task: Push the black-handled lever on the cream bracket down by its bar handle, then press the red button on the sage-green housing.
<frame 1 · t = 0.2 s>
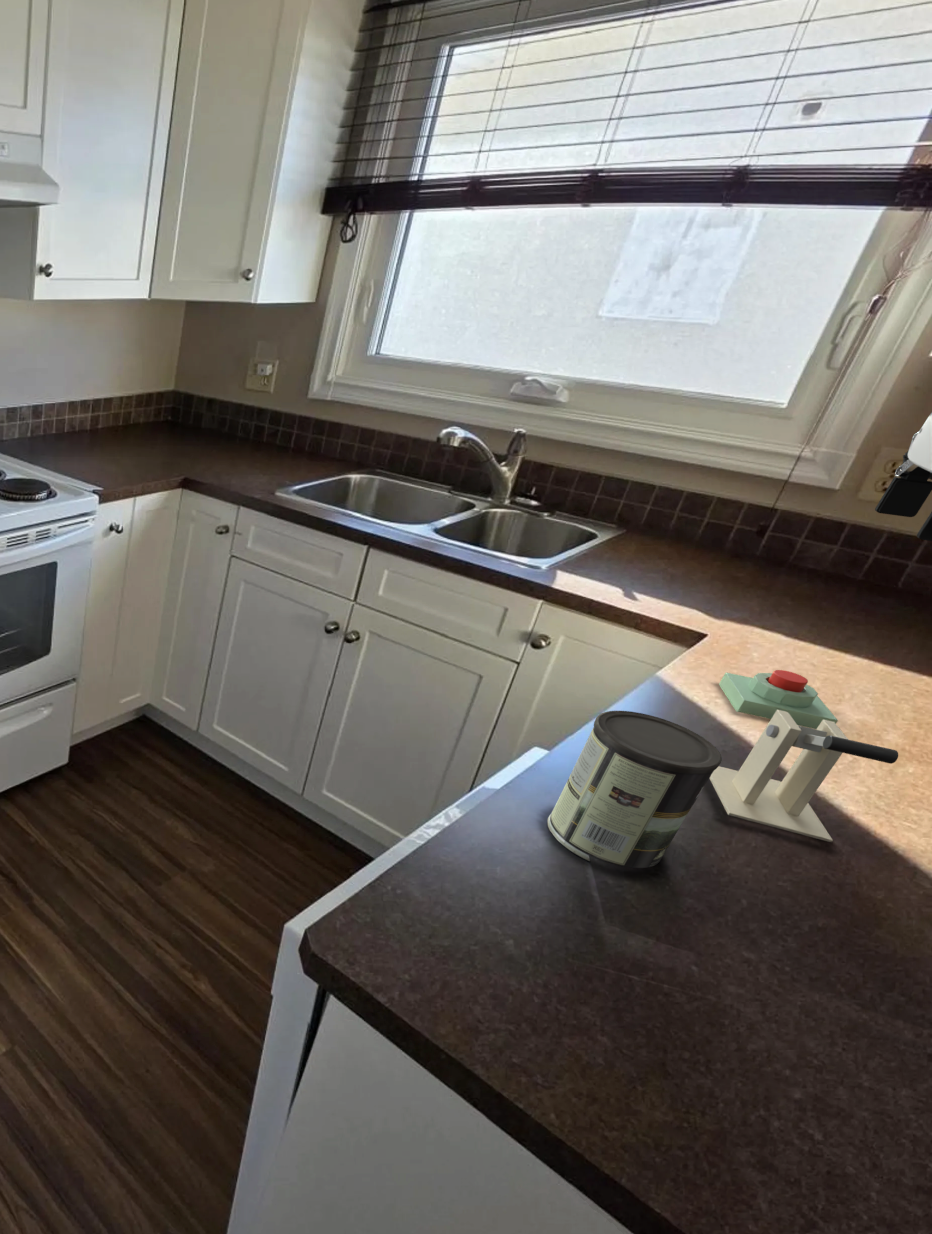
hand: (914, 527, 83), 33 cm above the worktop, tool pointing down, fingers open, 9 cm apart
lever: (828, 743, 83), point 12 cm above the worktop, hinge at 25.0°
bracket: (758, 806, 92), on the worktop
button: (787, 681, 110), point 4 cm above the worktop, slide at 0.1 cm
coffee can: (599, 841, 86), on the worktop
button box: (771, 707, 112), on the worktop
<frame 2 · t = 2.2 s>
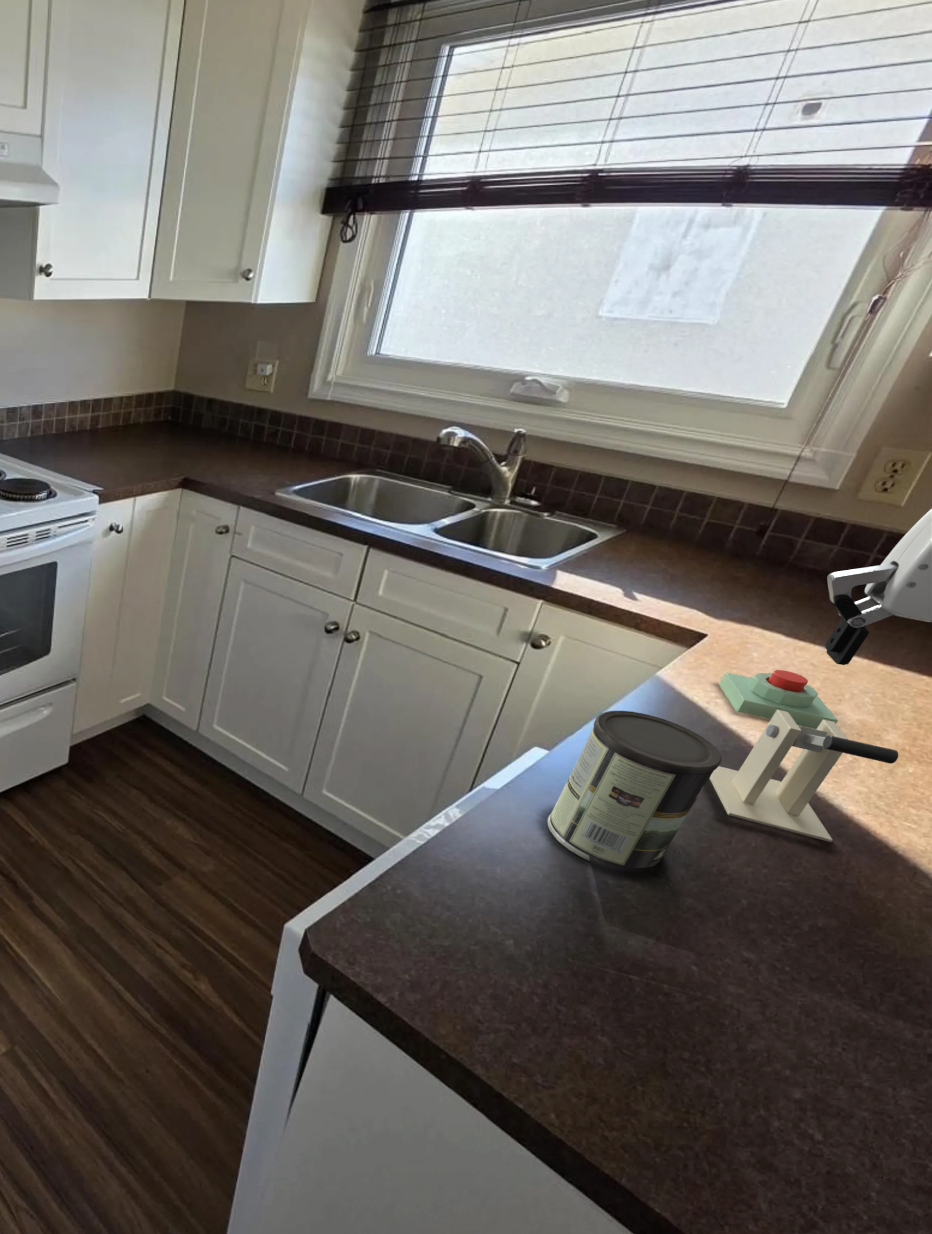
hand: (901, 672, 76), 23 cm above the worktop, tool pointing down, fingers open, 9 cm apart
nothing on the worktop moved.
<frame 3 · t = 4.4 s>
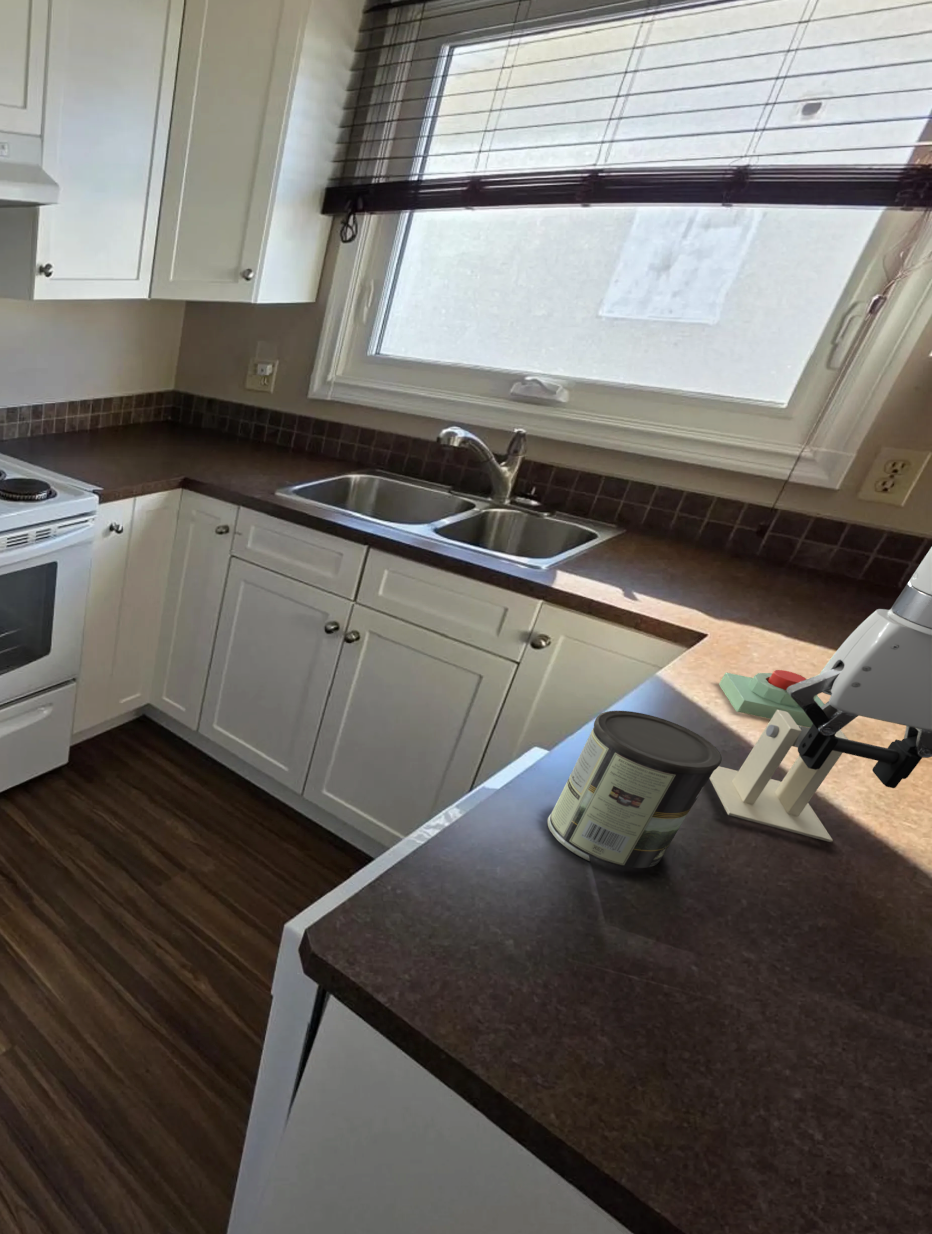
hand: (845, 769, 80), 12 cm above the worktop, tool pointing down, fingers closed on lever, 5 cm apart
lever: (828, 743, 83), point 12 cm above the worktop, hinge at 25.0°, touching gripper
everything else where it was.
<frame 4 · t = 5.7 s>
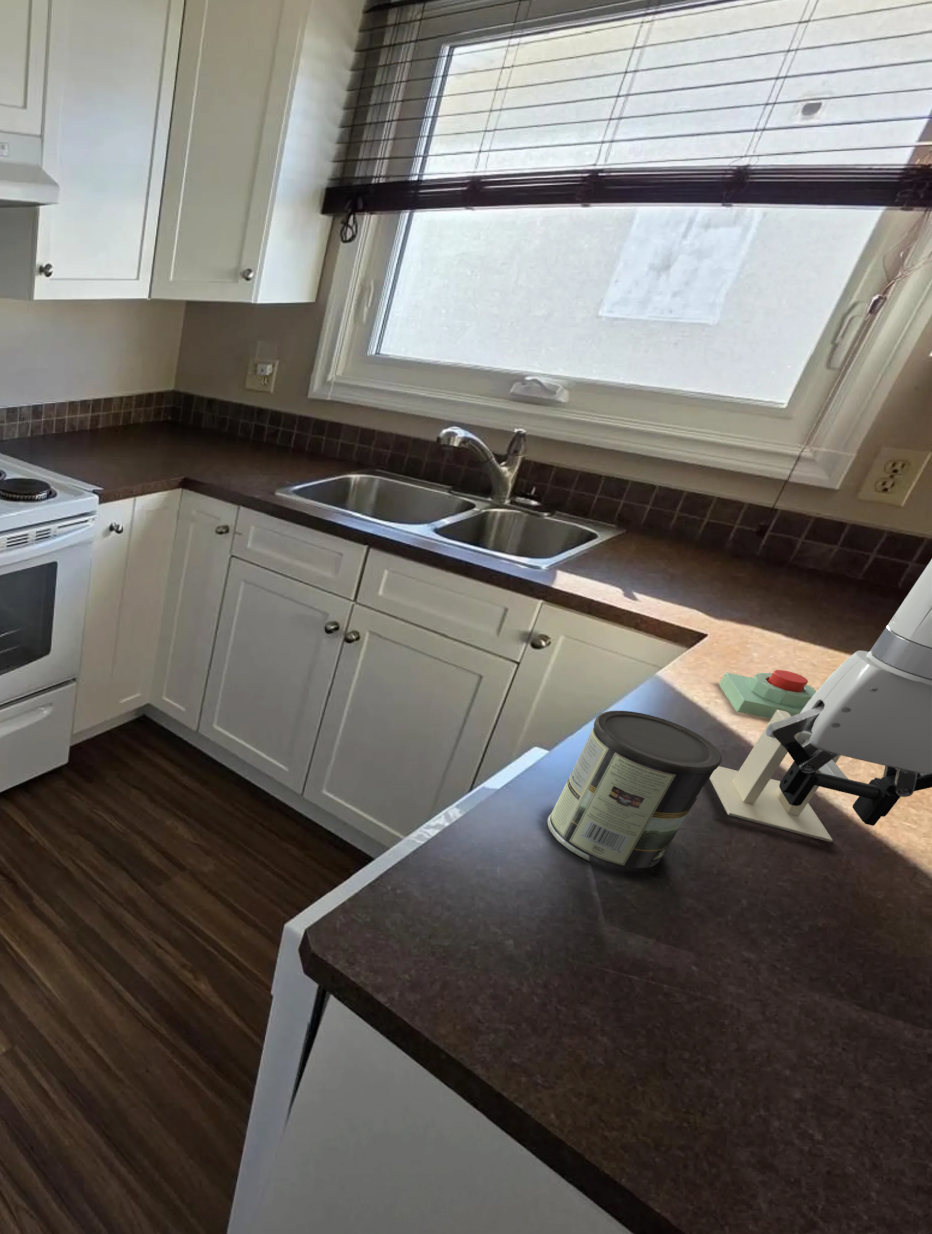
hand: (825, 806, 81), 7 cm above the worktop, tool pointing down, fingers closed on lever, 5 cm apart
lever: (820, 758, 84), point 10 cm above the worktop, hinge at 1.8°, touching gripper
everything else where it was.
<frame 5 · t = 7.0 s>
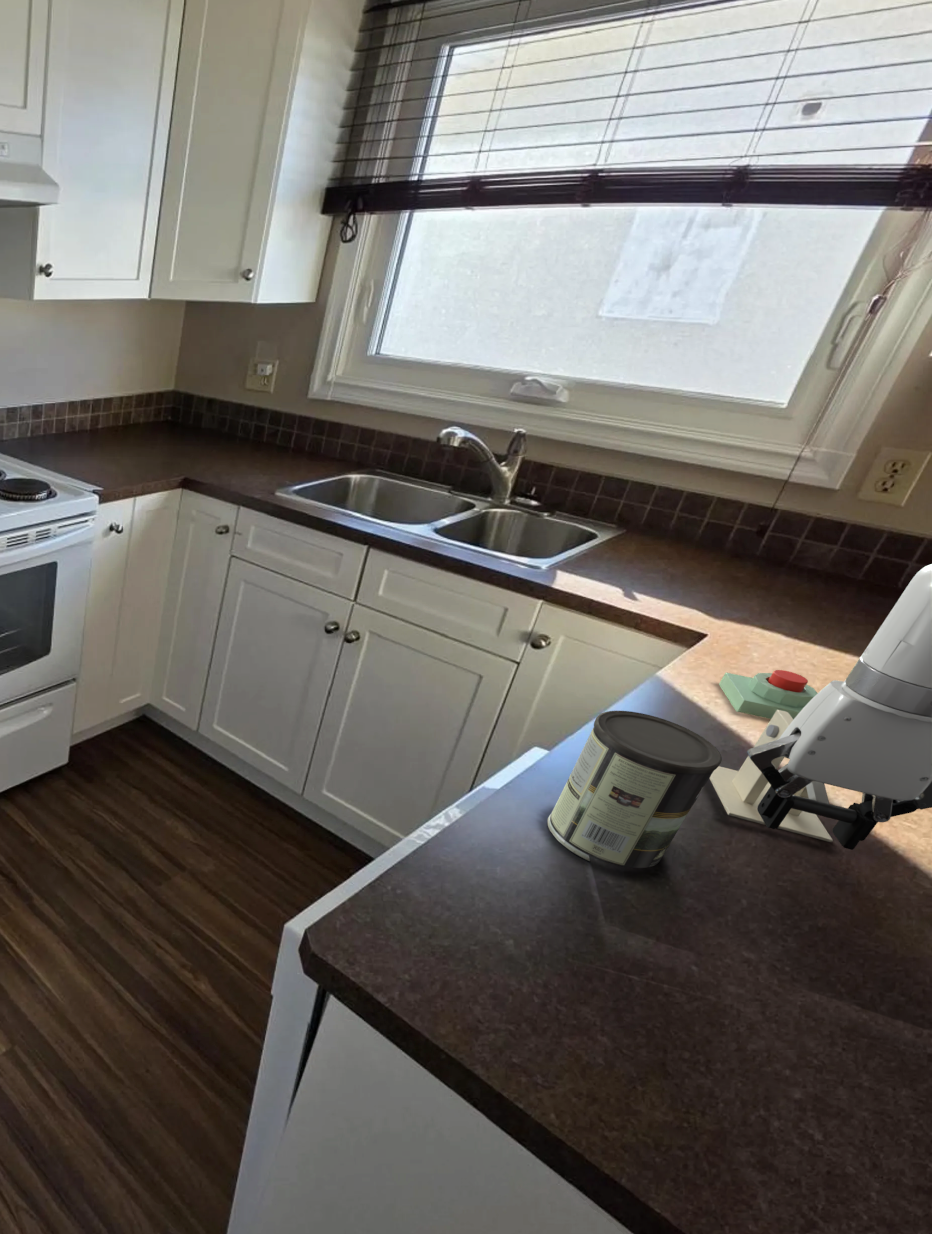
hand: (804, 829, 83), 4 cm above the worktop, tool pointing down, fingers open, 5 cm apart
lever: (811, 769, 85), point 8 cm above the worktop, hinge at -19.2°
everything else where it was.
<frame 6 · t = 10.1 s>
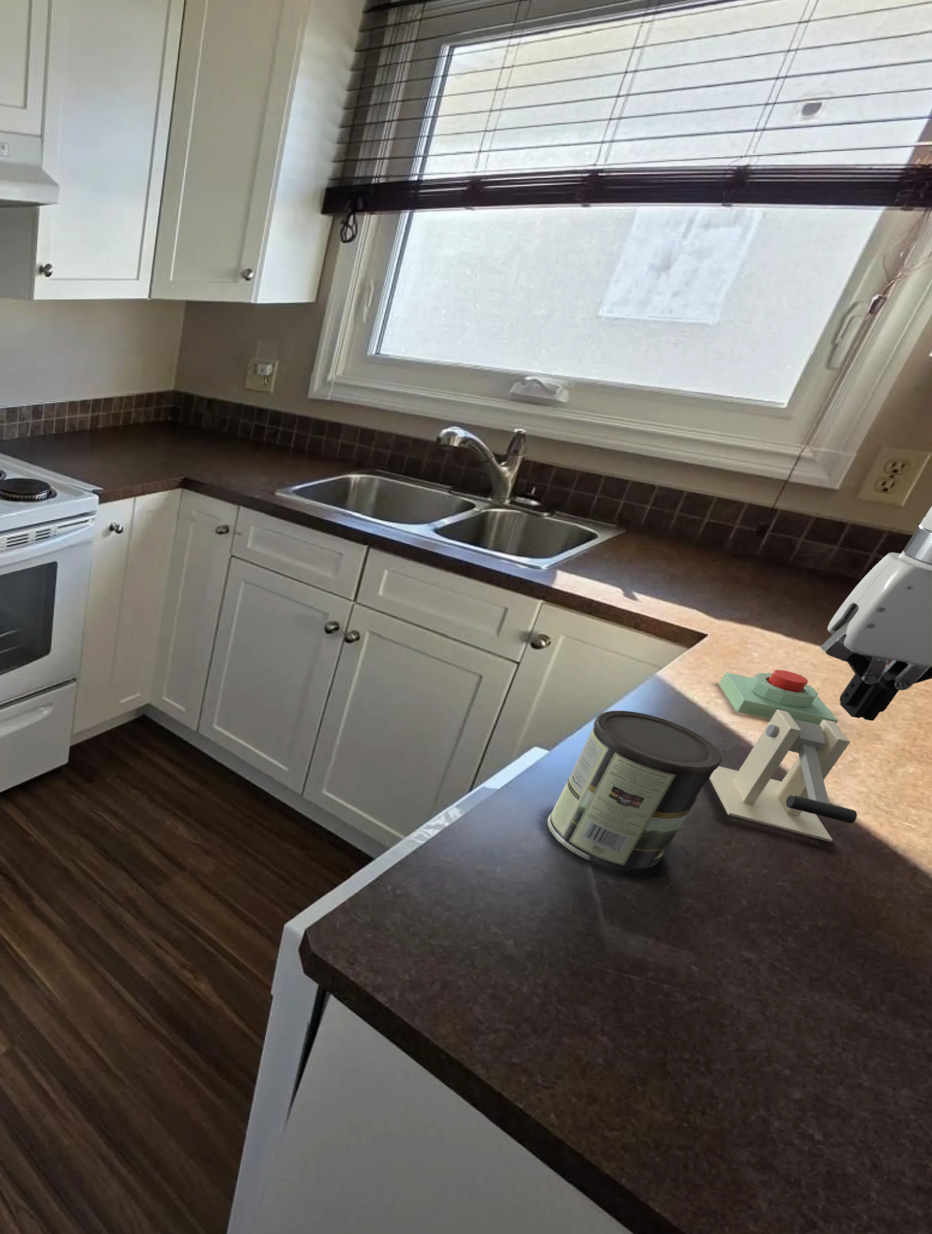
hand: (855, 712, 83), 15 cm above the worktop, tool pointing down, fingers closed
nothing on the worktop moved.
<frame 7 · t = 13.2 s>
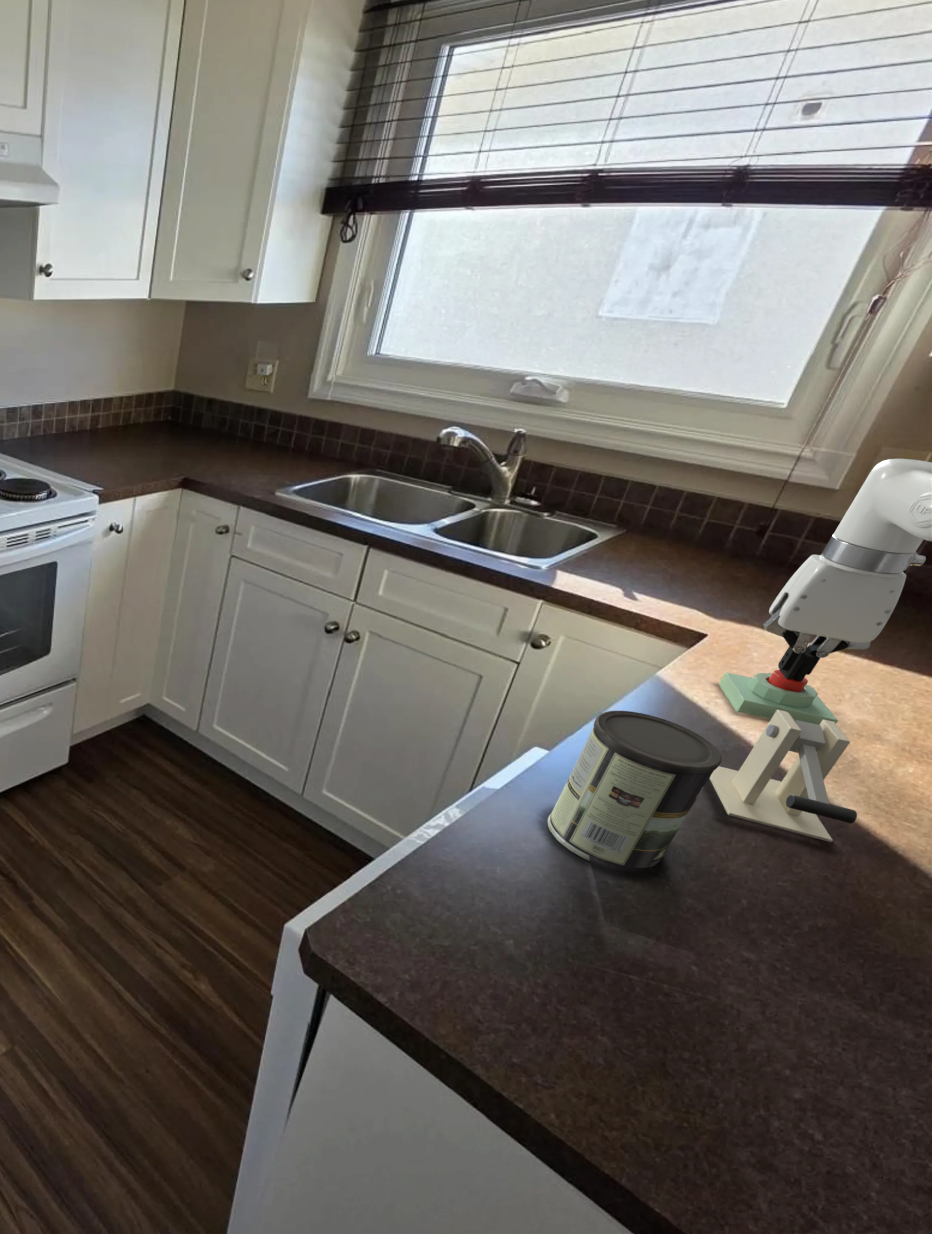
hand: (789, 675, 110), 5 cm above the worktop, tool pointing down, fingers closed
button: (787, 681, 110), point 4 cm above the worktop, slide at 0.1 cm, touching gripper
everything else where it was.
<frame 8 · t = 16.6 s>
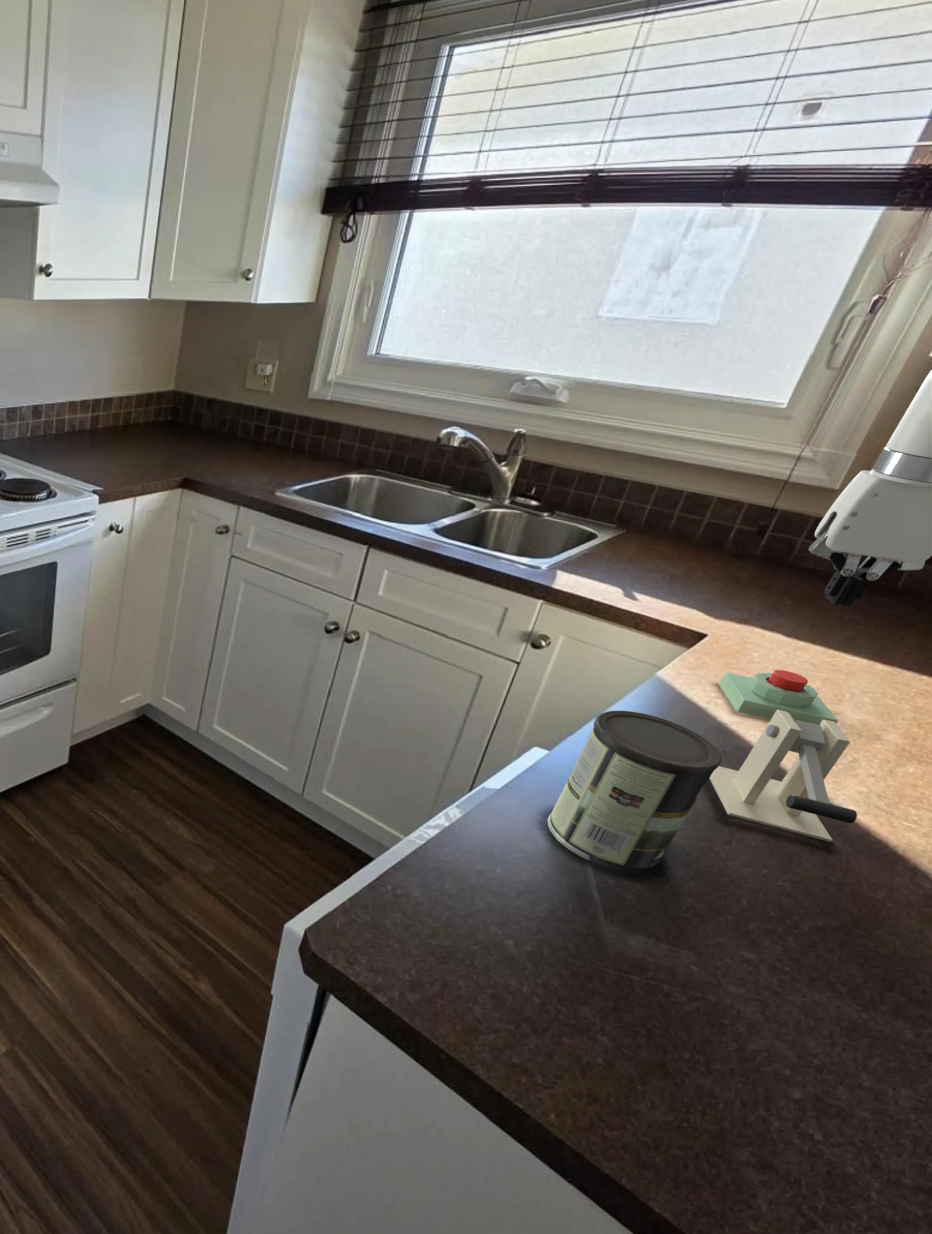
hand: (837, 601, 104), 17 cm above the worktop, tool pointing down, fingers closed
button: (787, 681, 110), point 4 cm above the worktop, slide at 0.1 cm
everything else where it was.
at the end: lever at -19° (first picture: +25°); button pushed in 1.1 cm at the most during the clip, back to where it started at the end; button slide at 0.1 cm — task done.
